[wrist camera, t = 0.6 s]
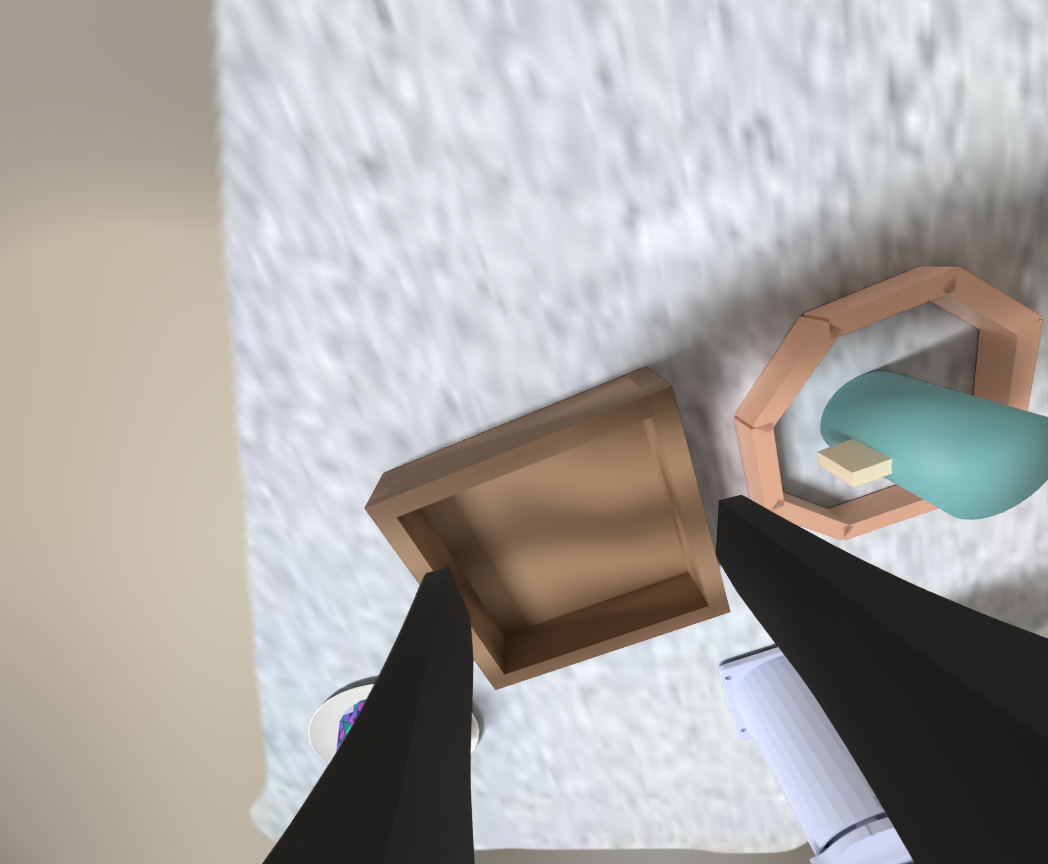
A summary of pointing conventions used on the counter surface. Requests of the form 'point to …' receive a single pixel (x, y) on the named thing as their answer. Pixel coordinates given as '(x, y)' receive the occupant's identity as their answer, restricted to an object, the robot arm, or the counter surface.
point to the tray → (563, 528)
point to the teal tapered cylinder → (934, 444)
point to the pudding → (347, 722)
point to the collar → (998, 316)
